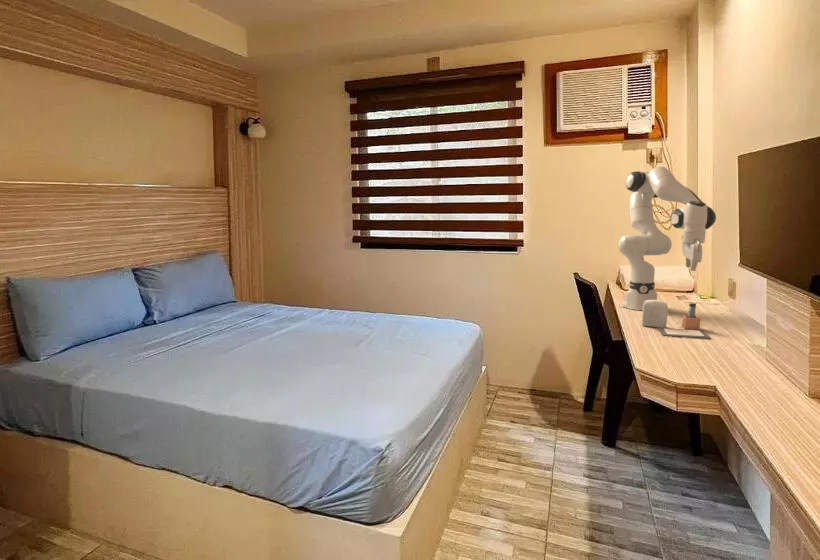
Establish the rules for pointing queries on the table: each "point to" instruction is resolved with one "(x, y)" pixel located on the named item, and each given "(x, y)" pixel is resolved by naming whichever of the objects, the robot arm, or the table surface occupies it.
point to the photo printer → (654, 313)
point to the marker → (692, 310)
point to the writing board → (684, 333)
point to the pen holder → (691, 323)
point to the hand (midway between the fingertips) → (690, 268)
